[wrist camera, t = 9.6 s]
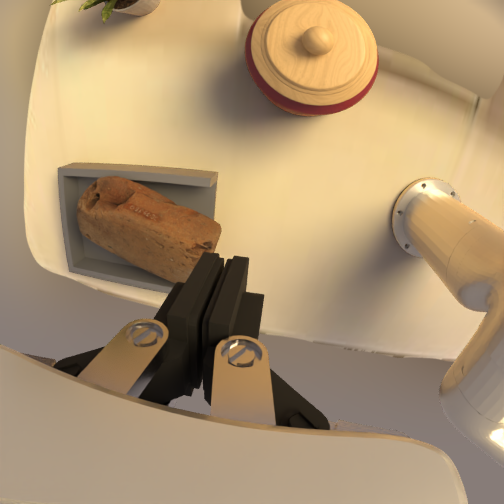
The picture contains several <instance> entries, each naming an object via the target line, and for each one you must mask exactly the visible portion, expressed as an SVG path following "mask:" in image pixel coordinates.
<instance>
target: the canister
mask: <svg viewBox="0 0 504 504" xmlns="http://www.w3.org/2000/svg"><path fill="white" fill-rule="evenodd" d="M245 59H246V64H247V67H248V70H249V73H250V75H251V77H252V79H253V80H254V82H255V83H256V85H257V86H258V87H259V89H260V90H261V91H262V92H263V94H264V95H265V96H266V97H267V98H268V99H269V100H270V101H271V102H272V103H273V104H274V105H276V106H277V107H279V108H280V109H282V110H284V111H286V112H289V113H292V114H295V115H301V116H318V115H327V114H333V113H337V112H341V111H343V110H346V109H348V108H350V107H352V106H353V105H355V104H356V103H358V102H359V101H360V100H361V99H362V98H364V96H365V95H366V94H367V93H368V92H369V90H370V89H371V87H372V85H373V84H374V81H375V79H376V76H377V72H378V65H379V59H378V50H377V46H376V42H375V39H374V36H373V34H372V32H371V30H370V28H369V27H368V25H367V24H366V22H365V21H364V20H363V19H362V17H360V15H359V14H358V13H356V12H355V11H354V10H353V9H351V8H350V7H348V6H347V5H345V4H343V3H341V2H339V1H337V0H281V1H279V2H277V3H275V4H274V5H272V6H270V7H269V8H267V9H266V10H265V11H264V12H262V13H261V14H260V15H259V17H257V19H256V20H255V21H254V23H253V24H252V26H251V28H250V30H249V32H248V35H247V38H246V43H245Z"/></svg>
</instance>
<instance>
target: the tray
mask: <svg viewBox="0 0 504 504" xmlns="http://www.w3.org/2000/svg"><path fill="white" fill-rule="evenodd" d="M106 176H118V177H121V178H126V179H128V180H131V181H133V182H136V183H139V184H141V185H143V186H146V187H148V188H150V189H152V190H154V191H156V192H158V193H160V194H161V195H163V196H165V197H167V198H168V199H170V200H172V201H173V202H174V203H175V204H176V205H180V206H185V207H187V208H190V209H193V210H195V211H197V212H198V213H201V214H203V215H205V216H207V217H209V218H211V219H212V220H214V213H215V201H216V189H217V177H218V172H211V171H202V170H192V169H181V168H169V167H156V166H142V165H125V164H103V163H71V164H68V165H65V166H62V167H59V168H58V184H59V198H60V209H61V219H62V227H63V235H64V242H65V249H66V255H67V261H68V267H69V272H73V273H77V274H81V275H85V276H90V277H94V278H98V279H102V280H107V281H111V282H116V283H120V284H125V285H130V286H134V287H139V288H144V289H149V290H154V291H159V292H164V293H170V292H171V290H172V288H173V287H174V285H175V284H176V283H173V282H170V281H168V280H166V279H164V278H161V277H159V276H157V275H155V274H153V273H150V272H148V271H146V270H144V269H142V268H140V267H138V266H136V265H133V264H131V263H130V262H128V261H126V260H124V259H122V258H120V257H118V256H117V255H115V254H113V253H111V252H109V251H108V250H106V249H104V248H102V247H101V246H99V245H97V244H96V243H94V242H92V241H91V240H89V239H88V238H86V237H85V236H84V235H83V234H82V233H81V232H80V229H79V224H78V221H77V216H76V213H77V204H78V201H79V199H80V198H81V196H82V194H83V193H84V191H85V190H86V189H87V188H88V187H89V186H90V185H91V184H92V183H94V182H95V181H97V179H99V178H101V177H106Z"/></svg>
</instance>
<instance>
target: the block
mask: <svg viewBox="0 0 504 504" xmlns="http://www.w3.org/2000/svg"><path fill="white" fill-rule="evenodd" d="M76 216H77V221H78V224H79V229H80V232H81V233H82V234H83V235H84V236H85V237H86V238H88V239H89V240H91V241H92V242H94V243H96V244H97V245H99V246H101V247H102V248H104V249H106V250H108V251H109V252H111V253H113V254H115V255H117V256H118V257H120V258H122V259H124V260H126V261H128V262H130V263H131V264H133V265H136V266H138V267H140V268H142V269H144V270H146V271H148V272H150V273H153V274H155V275H157V276H159V277H161V278H164V279H166V280H168V281H170V282H173V283H177V282H183V283H185V282H186V281H187V279H188V277H189V276H190V274H191V272H192V271H193V269H194V267H195V265H196V264H197V262H198V260H199V259H200V257H201V255H202V254H203V252H211V253H214V251H215V248H216V245H217V242H218V240H219V237H220V234H221V226H220V224H218V223H217V222H216V221H214V220H212V219H211V218H209V217H207V216H205V215H203V214H201V213H198V212H197V211H195V210H193V209H190V208H187V207H185V206H180V205H176V204H175V203H174V202H173V201H172V200H170V199H168V198H167V197H165V196H163V195H161V194H160V193H158V192H156V191H154V190H152V189H150V188H148V187H146V186H143V185H141V184H139V183H136V182H133V181H131V180H128V179H126V178H121V177H118V176H106V177H101V178H99V179H97V181H95V182H94V183H92V184H91V185H90V186H89V187H88V188H87V189H86V190H85V191H84V193H83V194H82V196H81V198H80V199H79V201H78V204H77V213H76Z"/></svg>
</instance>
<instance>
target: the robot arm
mask: <svg viewBox="0 0 504 504" xmlns="http://www.w3.org/2000/svg"><path fill="white" fill-rule="evenodd" d="M422 183H423V185H422ZM421 185H422V186H421ZM398 211H399V213H397V212H398ZM392 229H393V233H394V236H395V238H396V240H397V242H398V243H399V245H400V246H401V247H402V249H403V250H404V251H406V252H407V253H408V254H410V255H412V256H415V257H419V258H424V259H425V260H426V262H427V263H428V264H429V265H430V267H431V268H432V269H433V270H434V272H435V273H436V274H437V275H438V277H439V278H440V279H441V280H442V282H443V283H444V284H445V286H446V287H447V288H448V290H449V291H450V292H451V293H452V295H453V296H454V297H455V299H456V300H457V301H458V302H459V303H460V304H461V305H463V306H464V307H466V308H468V309H470V310H473V311H478V312H487V314H486V315H485V317H484V319H483V320H482V322H481V324H480V325H479V328H478V329H477V331H476V332H475V334H474V335H473V337H472V338H471V340H470V341H469V342H468V344H467V345H466V347H465V348H464V349H463V351H462V352H461V354H460V355H459V356H458V358H457V359H456V360H455V362H454V363H453V365H452V366H451V367H450V369H449V370H448V371H447V373H446V374H445V376H444V378H443V380H442V382H441V386H440V390H439V400H440V404H441V407H442V410H443V412H444V413H445V415H446V417H447V418H448V420H449V421H450V422H451V423H452V425H453V426H454V427H455V428H456V429H457V430H458V431H459V432H460V433H461V434H463V435H464V436H465V437H466V438H467V439H468V440H470V441H471V442H472V443H473V444H474V445H476V446H477V447H478V448H479V449H481V450H482V451H483V452H484V453H486V454H487V455H488V456H489V457H490V458H492V459H493V460H494V461H495V462H497V463H498V464H499V465H500V466H502V467H503V468H504V231H503V230H502V229H501V228H499V227H498V226H496V225H495V224H493V223H492V222H490V221H489V220H487V219H486V218H484V217H483V216H481V215H480V214H478V213H477V212H475V211H474V210H472V209H470V208H469V207H467V206H466V205H464V204H462V203H461V200H460V197H459V195H458V193H457V192H456V191H455V189H454V188H453V187H452V186H451V185H449V184H448V183H447V182H445V181H443V180H440V179H437V178H424V179H420V180H418V181H415V182H414V183H412V184H411V185H409V186H408V187H407V188H406V189H405V190H404V191H403V192H402V194H401V195H400V196H399V198H398V200H397V202H396V204H395V207H394V210H393V215H392ZM405 244H406V245H405ZM248 265H249V258H247V257H240V256H234V257H233V259H228V260H227V262H226V264H225V267H224V258H219V254H218V253H211V252H203V254H202V255H201V257H200V259H199V260H198V262H197V264H196V265H195V267H194V269H193V271H192V272H191V274H190V276H189V277H188V279H187V281H186V282H185V283H183V282H177V283H176V284H175V285H174V287H173V288H172V290H171V292H170V293H169V295H168V296H167V298H166V300H165V301H164V303H163V304H162V306H161V308H160V309H159V311H158V313H157V314H156V316H155V317H154V319H138V320H134V321H133V322H130V323H128V324H127V325H126V326H124V327H123V328H122V329H121V331H120V332H119V333H118V334H117V335H116V336H115V337H114V338H113V339H112V340H111V341H110V342H109V343H108V344H107V345H106V346H105V347H102V348H98V349H95V350H92V351H88V352H85V353H82V354H78V355H75V356H71V357H68V358H65V359H62V360H60V361H58V362H57V363H56V361H55V359H50V358H45V357H39V356H34V355H29V354H24V353H19V352H17V351H15V350H13V349H10V348H8V347H6V346H4V345H1V344H0V504H468V500H467V497H466V493H465V489H464V486H463V483H462V481H461V478H460V476H459V473H458V471H457V469H456V467H455V465H454V463H453V462H452V460H451V459H450V458H449V457H448V455H447V454H446V453H444V452H443V451H442V450H440V449H439V448H436V447H434V446H433V445H430V444H428V443H425V442H422V441H418V440H415V439H411V438H410V437H408V436H407V435H406V434H405V433H403V432H399V431H397V430H390V429H384V428H378V427H373V426H367V425H362V424H357V423H352V422H347V421H343V420H338V422H337V423H336V422H332V421H328V420H327V418H326V417H325V416H324V415H323V414H322V413H321V412H320V411H319V410H318V409H316V408H315V407H314V406H313V405H312V404H310V403H309V402H308V401H307V400H306V399H305V398H303V397H302V396H301V395H300V394H299V393H298V392H296V391H295V390H294V389H293V388H292V387H290V386H289V385H288V384H287V383H286V382H285V381H284V380H282V379H281V378H280V377H279V376H278V375H277V374H276V373H275V372H274V371H272V370H271V369H270V366H269V357H268V352H267V349H266V347H265V346H264V345H263V343H261V342H260V341H258V336H259V329H260V322H261V315H262V308H263V301H264V294H257V293H249V292H246V286H247V275H248ZM202 379H203V390H204V399H205V400H206V401H207V402H208V404H209V405H210V406H211V412H210V416H209V415H204V414H199V413H194V412H190V411H185V410H181V409H177V408H174V407H175V405H176V401H177V400H176V398H178V397H180V396H183V395H186V396H191V395H192V392H193V389H194V388H196V389H199V388H200V385H201V382H202Z"/></svg>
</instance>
